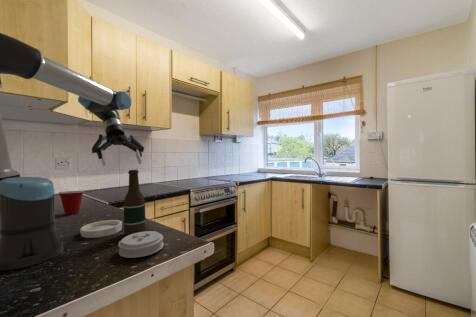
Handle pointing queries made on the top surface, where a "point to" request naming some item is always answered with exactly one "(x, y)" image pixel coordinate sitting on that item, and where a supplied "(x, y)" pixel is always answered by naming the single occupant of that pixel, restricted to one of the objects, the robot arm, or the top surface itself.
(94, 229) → the dish
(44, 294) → the top surface
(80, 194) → the plastic cup
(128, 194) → the beer bottle
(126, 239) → the lid
